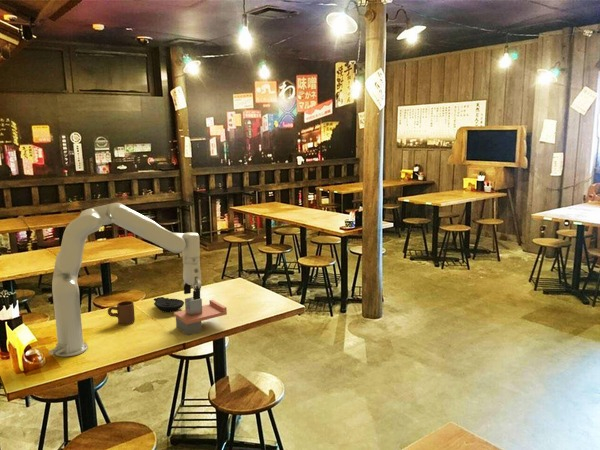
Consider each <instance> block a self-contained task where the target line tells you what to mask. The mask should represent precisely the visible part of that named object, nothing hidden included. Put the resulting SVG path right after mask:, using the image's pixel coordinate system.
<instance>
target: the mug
mask: <svg viewBox="0 0 600 450" xmlns="http://www.w3.org/2000/svg"><path fill="white" fill-rule="evenodd" d="M113 310H114V311H116V312H112V311H113ZM107 314H108V316H110V317H112V318H115V317H116V318H117V323H118V324H119V325H121V326H122V325H124V326H125V325H131V324H133V323H135V320H136V319H135V318H136V317H135V304H134V302H133V301H131V300H126V301H120V302H118V303H117V304H116V306H114V305H113V306H110V307H109V308H107Z"/></svg>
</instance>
